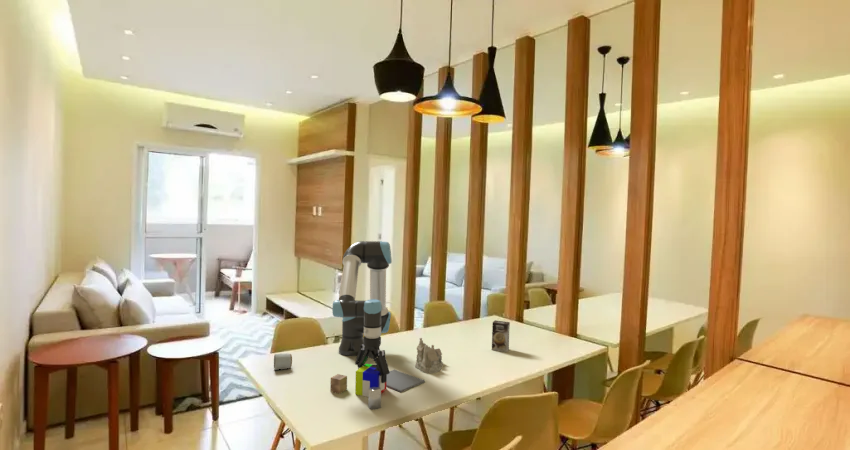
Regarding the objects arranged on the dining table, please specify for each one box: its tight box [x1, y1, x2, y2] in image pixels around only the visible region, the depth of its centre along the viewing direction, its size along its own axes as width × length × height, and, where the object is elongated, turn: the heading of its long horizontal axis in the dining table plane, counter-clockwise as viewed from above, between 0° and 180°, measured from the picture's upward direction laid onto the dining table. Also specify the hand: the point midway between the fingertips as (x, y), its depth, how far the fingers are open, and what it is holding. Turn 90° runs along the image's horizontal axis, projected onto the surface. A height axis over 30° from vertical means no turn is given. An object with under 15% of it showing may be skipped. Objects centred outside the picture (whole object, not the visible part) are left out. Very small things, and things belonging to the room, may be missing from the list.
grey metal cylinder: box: [367, 387, 382, 411], centre depth 169 cm, size 5×5×7 cm
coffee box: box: [491, 320, 511, 353], centre depth 245 cm, size 9×6×16 cm
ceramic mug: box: [273, 352, 293, 371], centre depth 210 cm, size 11×8×8 cm
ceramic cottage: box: [414, 337, 444, 374], centre depth 215 cm, size 16×16×15 cm
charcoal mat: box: [386, 369, 426, 393], centre depth 195 cm, size 20×16×1 cm
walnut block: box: [330, 373, 348, 394], centre depth 184 cm, size 5×5×6 cm
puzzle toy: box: [354, 363, 387, 398], centre depth 183 cm, size 10×10×10 cm
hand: (371, 385), depth 183 cm, fingers closed on puzzle toy, 12 cm apart
